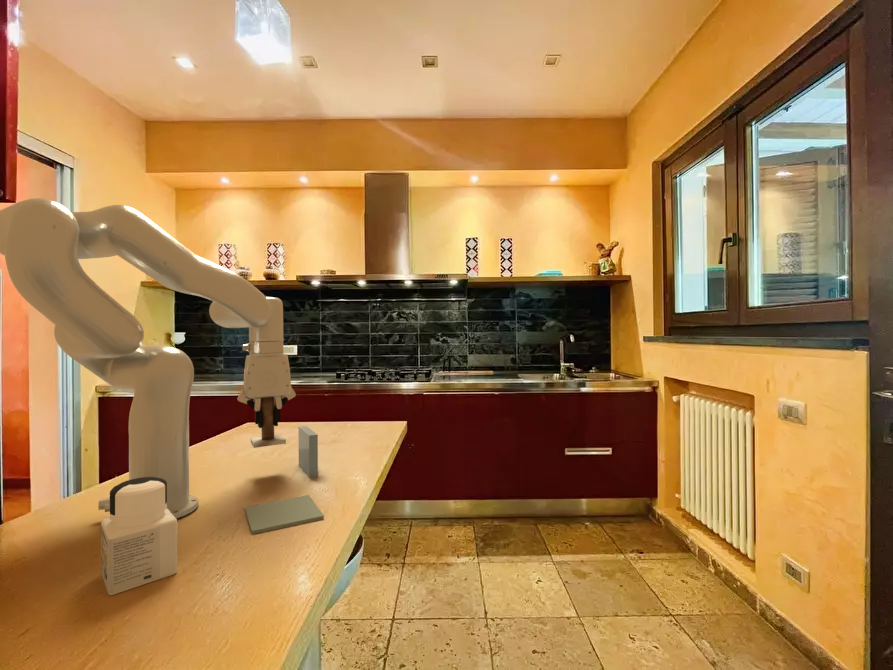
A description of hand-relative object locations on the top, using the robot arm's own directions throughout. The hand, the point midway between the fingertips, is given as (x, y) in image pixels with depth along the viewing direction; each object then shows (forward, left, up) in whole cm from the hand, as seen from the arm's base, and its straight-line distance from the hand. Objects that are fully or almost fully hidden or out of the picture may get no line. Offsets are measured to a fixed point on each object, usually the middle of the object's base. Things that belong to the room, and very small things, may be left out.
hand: (267, 425), depth 103 cm
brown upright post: (0, 0, -4) cm, 4 cm away
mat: (-1, -25, -12) cm, 28 cm away
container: (-22, -36, -12) cm, 44 cm away
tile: (+9, 0, -12) cm, 15 cm away
